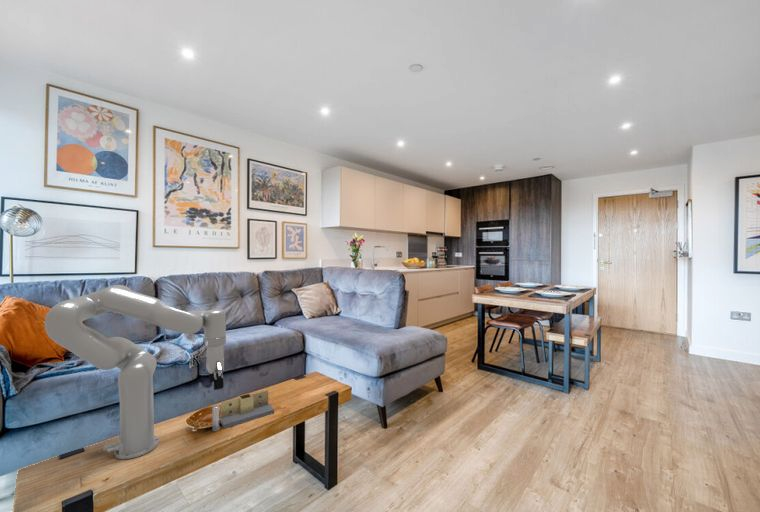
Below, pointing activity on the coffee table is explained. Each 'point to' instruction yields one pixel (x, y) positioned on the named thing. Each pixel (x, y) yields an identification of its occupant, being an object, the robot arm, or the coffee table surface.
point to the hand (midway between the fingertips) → (216, 384)
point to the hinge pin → (215, 418)
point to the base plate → (246, 416)
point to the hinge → (244, 403)
